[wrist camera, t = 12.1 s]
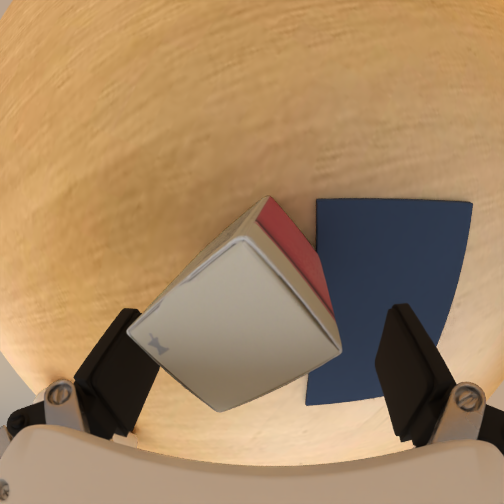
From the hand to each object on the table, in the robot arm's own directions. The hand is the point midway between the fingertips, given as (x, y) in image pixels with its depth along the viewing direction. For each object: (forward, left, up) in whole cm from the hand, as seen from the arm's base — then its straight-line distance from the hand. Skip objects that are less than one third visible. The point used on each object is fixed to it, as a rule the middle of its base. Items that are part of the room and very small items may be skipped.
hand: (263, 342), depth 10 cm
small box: (0, -1, -6) cm, 6 cm away
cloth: (-8, +4, -6) cm, 10 cm away
